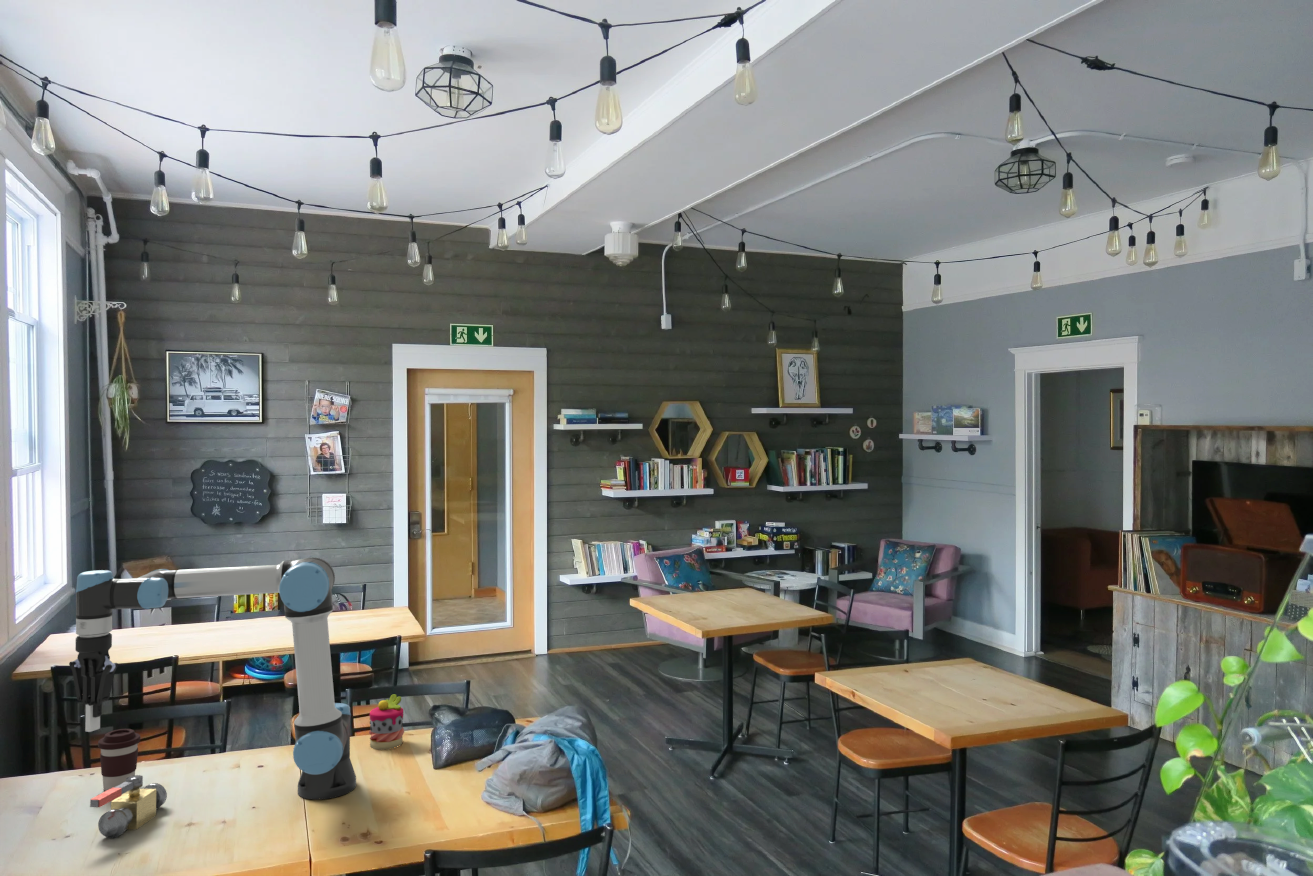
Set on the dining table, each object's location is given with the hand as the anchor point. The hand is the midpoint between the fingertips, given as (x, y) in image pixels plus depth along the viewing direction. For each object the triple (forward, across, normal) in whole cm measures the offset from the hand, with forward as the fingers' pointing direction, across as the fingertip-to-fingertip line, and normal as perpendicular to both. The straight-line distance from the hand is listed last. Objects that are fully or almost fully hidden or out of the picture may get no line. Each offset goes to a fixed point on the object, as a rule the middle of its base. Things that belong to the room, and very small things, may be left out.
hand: (92, 729), depth 210 cm
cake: (+25, +35, +73) cm, 85 cm away
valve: (+24, +7, +6) cm, 26 cm away
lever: (+16, +8, 0) cm, 17 cm away
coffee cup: (+25, -16, +23) cm, 37 cm away
